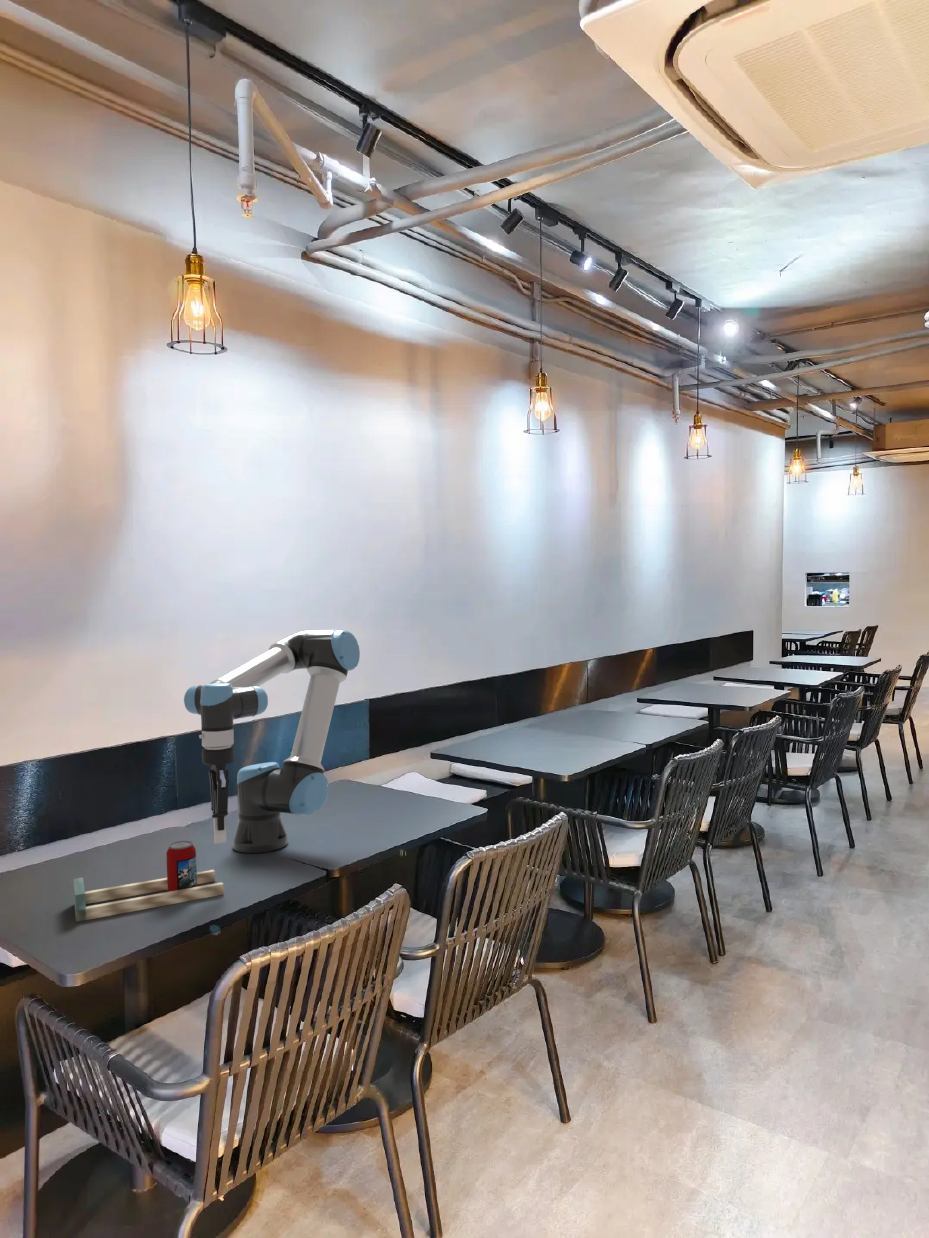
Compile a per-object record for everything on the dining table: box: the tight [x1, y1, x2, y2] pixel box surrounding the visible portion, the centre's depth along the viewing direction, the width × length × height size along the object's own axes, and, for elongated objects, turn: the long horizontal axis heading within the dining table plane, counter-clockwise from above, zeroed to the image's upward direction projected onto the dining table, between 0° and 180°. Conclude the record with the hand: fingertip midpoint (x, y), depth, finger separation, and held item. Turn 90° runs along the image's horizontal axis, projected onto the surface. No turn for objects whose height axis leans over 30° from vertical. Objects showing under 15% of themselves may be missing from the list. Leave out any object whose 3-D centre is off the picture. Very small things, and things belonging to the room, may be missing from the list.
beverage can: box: [165, 840, 198, 892], centre depth 200 cm, size 7×7×12 cm
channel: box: [72, 869, 225, 923], centre depth 197 cm, size 32×12×6 cm, turn 117°
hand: (220, 842), depth 204 cm, fingers closed
